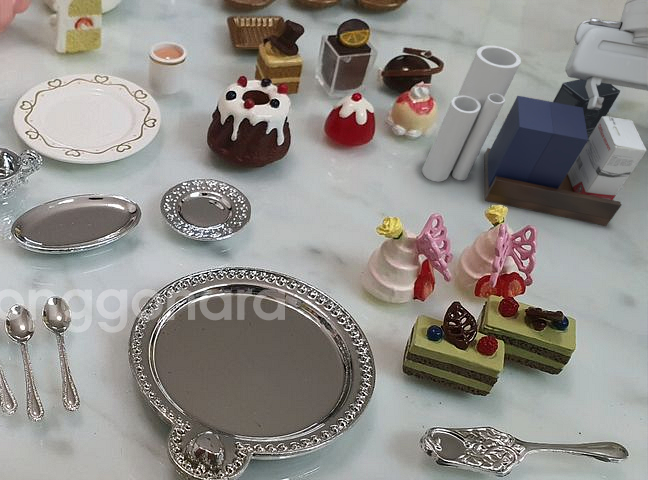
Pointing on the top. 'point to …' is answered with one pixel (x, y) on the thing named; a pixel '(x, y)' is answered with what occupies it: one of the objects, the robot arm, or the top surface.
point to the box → (587, 100)
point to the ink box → (607, 158)
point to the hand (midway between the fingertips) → (625, 114)
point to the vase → (471, 114)
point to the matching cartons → (538, 142)
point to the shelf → (550, 199)
